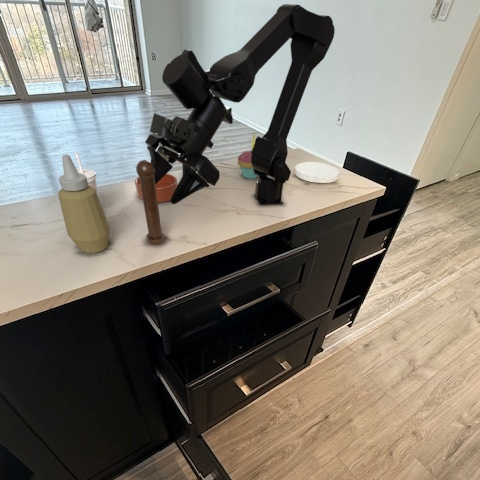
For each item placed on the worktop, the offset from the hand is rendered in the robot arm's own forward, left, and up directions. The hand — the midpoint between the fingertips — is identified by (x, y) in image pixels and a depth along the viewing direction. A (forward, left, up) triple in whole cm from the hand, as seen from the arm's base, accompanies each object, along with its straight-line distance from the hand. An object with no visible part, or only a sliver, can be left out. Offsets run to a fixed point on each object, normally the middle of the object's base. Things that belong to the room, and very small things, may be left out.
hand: (159, 195), depth 65 cm
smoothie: (+17, -13, -10) cm, 23 cm away
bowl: (+1, -23, -10) cm, 25 cm away
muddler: (+2, +1, -10) cm, 10 cm away
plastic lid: (-49, -32, -10) cm, 59 cm away
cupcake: (-28, -35, -10) cm, 46 cm away
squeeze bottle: (+15, +2, -10) cm, 18 cm away
